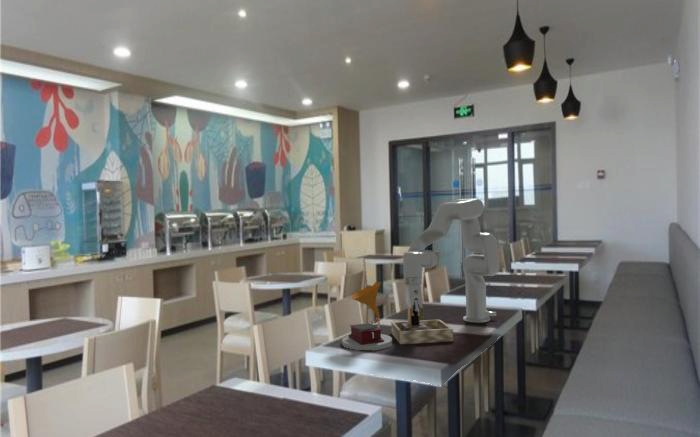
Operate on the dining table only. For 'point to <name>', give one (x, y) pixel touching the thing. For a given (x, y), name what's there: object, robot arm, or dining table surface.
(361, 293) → the gramophone
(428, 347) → the dining table surface
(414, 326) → the orange canister
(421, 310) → the squeeze bottle
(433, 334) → the box
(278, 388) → the dining table surface
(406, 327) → the socket
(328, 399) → the dining table surface
